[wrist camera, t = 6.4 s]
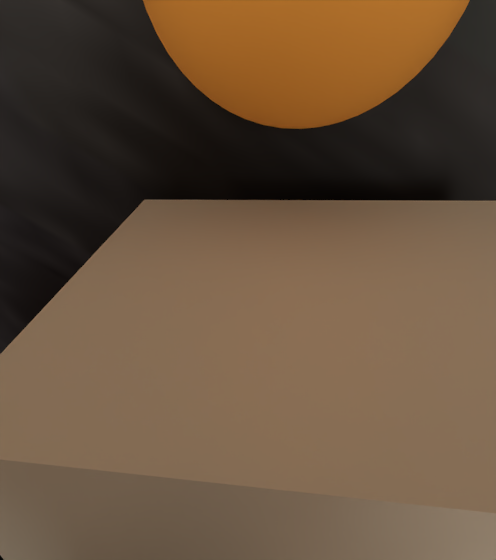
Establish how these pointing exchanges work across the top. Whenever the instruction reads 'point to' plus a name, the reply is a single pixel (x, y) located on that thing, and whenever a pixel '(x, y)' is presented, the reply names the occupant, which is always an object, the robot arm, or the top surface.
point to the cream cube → (261, 388)
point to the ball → (302, 52)
